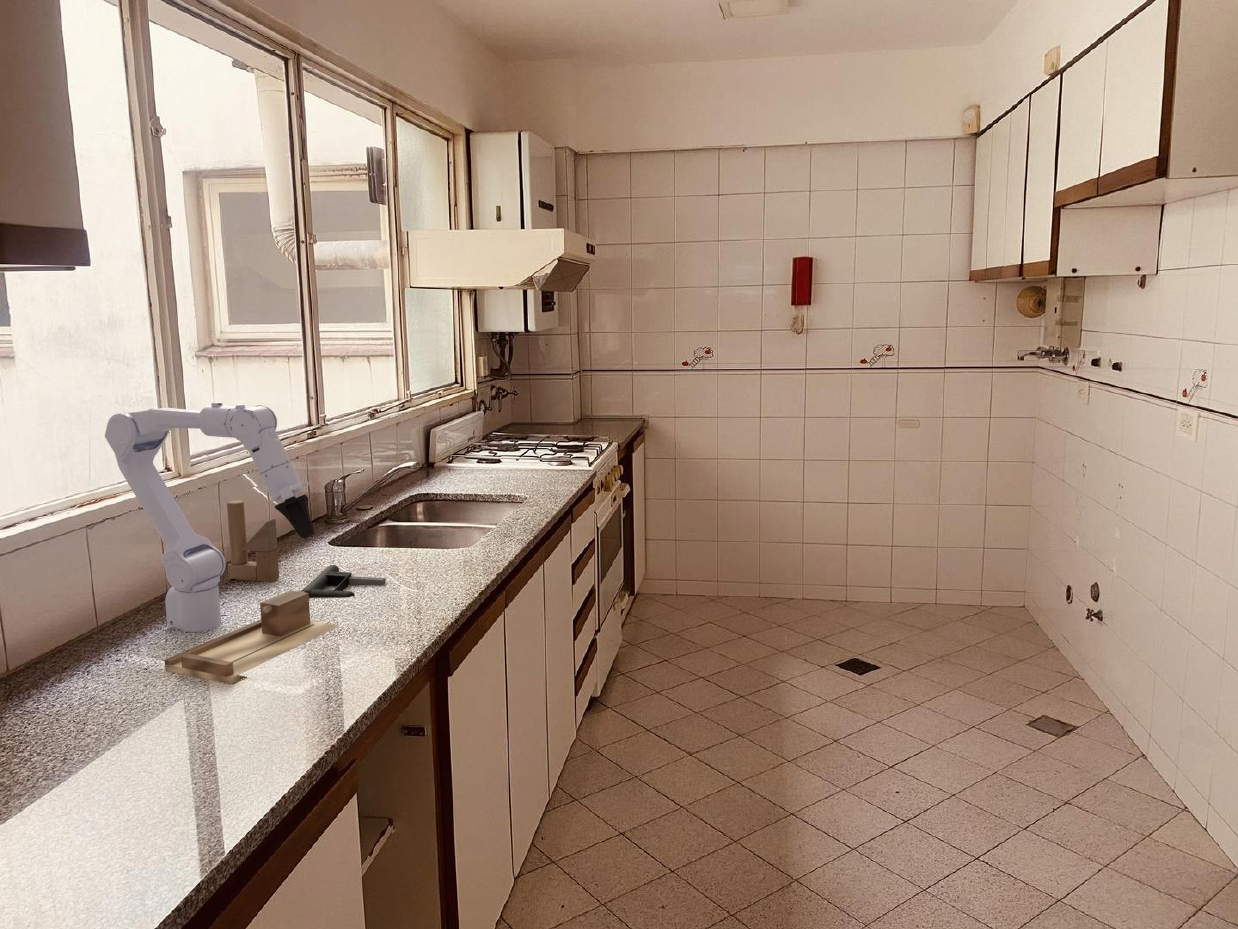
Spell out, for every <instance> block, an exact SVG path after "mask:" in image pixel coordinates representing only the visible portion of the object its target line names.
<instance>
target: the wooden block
mask: <svg viewBox="0 0 1238 929" xmlns="http://www.w3.org/2000/svg"><path fill="white" fill-rule="evenodd" d="M226 511H227V512H226V513H227V523H228V524H227V525H228V537H229V549H230V550H229V551H230V562H231V563H228V564H227V573H228V580H231V579H236V580H235V581H249V582H250V581H251V582H260V581H261V583H262V582H263V583H273V582H274V581H277V579H279V578H280V571H279V570H280V568H279V567H280V566H279V557H278V556H279V555H278V552H279V551H278V537H277V523H276V522H277V521H276V518H271V519H270V520H267V521H266V522H265V523H264V524H263V525H262V526H261V527H260V528H259V530H257V532H255V534H254V535H253V536H252V537H251V538H250V539H249V540H248V541H247V528H246V527H247V526H246V515H245V514H246V512H245V501H243V500H238V499H237V500H235V499H234V500H230V501H227V502H226ZM250 551H251V552H255V561H249V556H248V552H250Z"/></svg>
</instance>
